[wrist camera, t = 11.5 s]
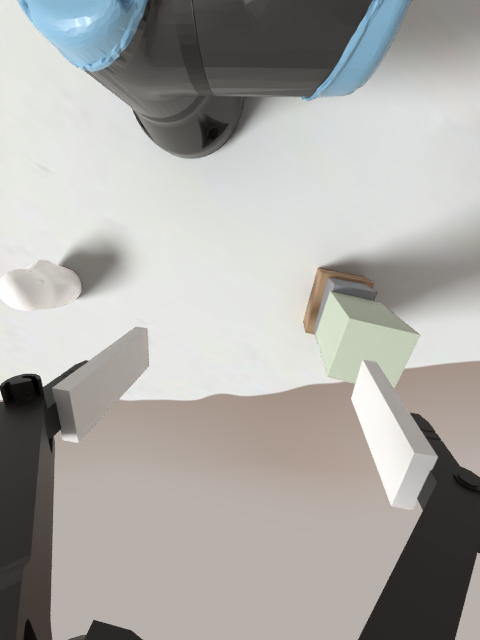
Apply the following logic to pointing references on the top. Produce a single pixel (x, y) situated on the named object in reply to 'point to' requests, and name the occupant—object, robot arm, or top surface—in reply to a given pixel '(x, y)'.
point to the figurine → (40, 287)
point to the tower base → (319, 291)
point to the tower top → (344, 288)
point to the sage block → (363, 338)
